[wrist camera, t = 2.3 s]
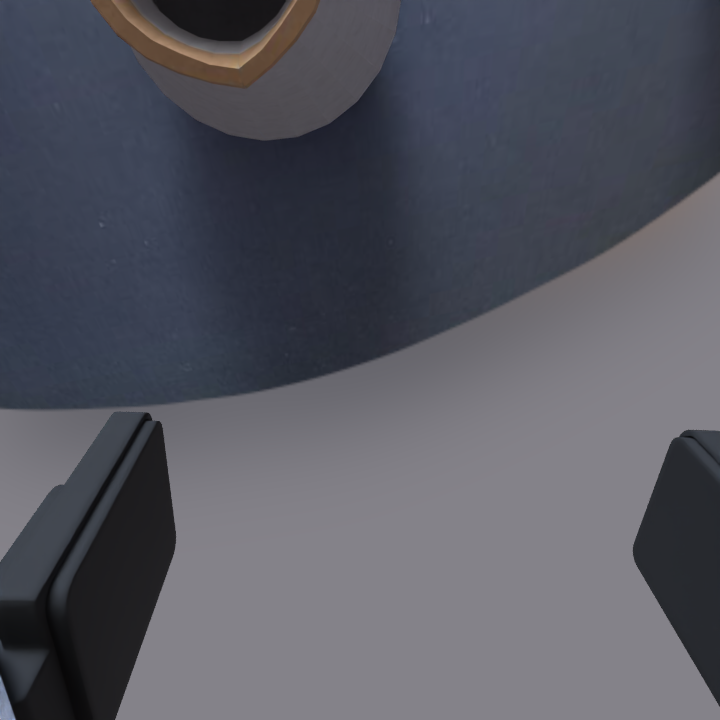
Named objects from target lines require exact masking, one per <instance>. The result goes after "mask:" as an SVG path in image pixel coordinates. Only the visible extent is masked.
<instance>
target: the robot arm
mask: <svg viewBox="0 0 720 720" xmlns="http://www.w3.org/2000/svg"><path fill="white" fill-rule="evenodd" d="M175 544H176V531H175V523H174V516H173V507H172V499H171V491H170V483H169V475H168V467H167V459H166V451H165V443H164V435H163V428H162V424H161V423H160V421H152V418H151V416H150V414H149V413H143V412H114V413H113V414H112V415H111V417H110V418H109V420H108V421H107V423H106V424H105V426H104V427H103V429H102V430H101V431H100V433H99V434H98V436H97V438H96V439H95V441H94V442H93V444H92V445H91V446H90V448H89V449H88V451H87V452H86V454H85V455H84V457H83V458H82V460H81V461H80V463H79V464H78V465H77V467H76V468H75V470H74V471H73V473H72V474H71V476H70V477H69V479H68V480H67V482H66V483H65V485H58V486H56V487H54V488H53V489H52V490H51V492H50V493H49V494H48V495H47V496H46V498H45V499H44V501H43V502H42V503H41V505H40V506H39V508H38V509H37V511H36V512H35V513H34V515H33V516H32V518H31V519H30V521H29V522H28V523H27V525H26V526H25V528H24V529H23V531H22V532H21V533H20V535H19V536H18V538H17V539H16V541H15V542H14V543H13V545H12V546H11V548H10V549H9V550H8V552H7V553H6V555H5V556H4V558H3V559H2V560H1V562H0V720H115V718H116V715H117V713H118V710H119V707H120V704H121V701H122V699H123V696H124V693H125V690H126V687H127V684H128V682H129V679H130V676H131V673H132V670H133V668H134V665H135V662H136V659H137V656H138V653H139V650H140V648H141V645H142V642H143V639H144V636H145V634H146V631H147V628H148V625H149V622H150V620H151V617H152V614H153V611H154V608H155V606H156V603H157V600H158V597H159V594H160V591H161V589H162V586H163V583H164V580H165V577H166V575H167V572H168V569H169V566H170V563H171V560H172V558H173V554H174V550H175ZM633 556H634V560H635V563H636V565H637V567H638V569H639V570H640V572H641V574H642V575H643V577H644V578H645V581H646V582H647V584H648V586H649V587H650V589H651V591H652V592H653V594H654V596H655V598H656V599H657V601H658V602H659V604H660V606H661V608H662V609H663V611H664V613H665V614H666V616H667V618H668V619H669V621H670V623H671V625H672V626H673V628H674V630H675V631H676V633H677V635H678V637H679V638H680V640H681V641H682V643H683V645H684V647H685V648H686V650H687V652H688V653H689V655H690V657H691V659H692V660H693V662H694V664H695V665H696V667H697V669H698V670H699V672H700V674H701V676H702V677H703V679H704V680H705V682H706V684H707V686H708V687H709V689H710V691H711V693H712V694H713V696H714V698H715V699H716V701H717V703H718V704H719V706H720V431H706V430H686V431H684V432H683V433H682V434H681V435H680V437H678V438H675V439H673V440H672V442H671V444H670V446H669V449H668V452H667V454H666V457H665V460H664V463H663V465H662V468H661V471H660V473H659V476H658V479H657V482H656V484H655V487H654V490H653V493H652V495H651V498H650V501H649V504H648V506H647V509H646V512H645V515H644V517H643V520H642V523H641V525H640V528H639V531H638V534H637V536H636V539H635V542H634V545H633Z"/></svg>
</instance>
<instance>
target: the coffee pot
mask: <svg viewBox="0 0 720 720" xmlns="http://www.w3.org/2000/svg"><path fill="white" fill-rule="evenodd" d="M91 2H92V4H93V5H94V7H95V8H96V9H97V10H98V12H99V13H100V14H101V15H102V17H103V18H104V19H105V20H106V22H107V23H108V24H109V25H110V27H111V28H112V29H113V30H114V32H115V33H116V34H117V35H118V36H119V37H120V38H121V39H122V40H124V41H125V42H126V43H127V44H129V45H130V46H131V48H132V50H133V52H134V54H135V56H136V58H137V60H138V62H139V64H140V65H141V66H142V67H143V69H144V70H145V71H146V72H147V74H148V75H149V76H150V77H151V79H152V80H153V81H154V82H155V84H156V85H157V86H158V87H159V89H160V90H161V91H162V92H163V94H164V95H165V96H167V97H168V98H169V99H170V100H172V101H173V102H174V103H175V104H177V105H178V106H179V107H180V108H182V109H183V110H184V111H186V112H187V113H188V114H189V115H191V116H192V117H193V118H194V119H196V120H198V121H200V122H202V123H204V124H206V125H209V126H211V127H213V128H215V129H217V130H220V131H222V132H224V133H226V134H228V135H232V136H238V137H244V138H250V139H256V140H262V141H266V140H275V139H284V138H293V137H299V136H301V135H304V134H306V133H309V132H311V131H313V130H316V129H318V128H320V127H323V126H325V125H328V124H330V123H331V122H332V121H334V120H335V119H336V118H337V117H339V116H340V115H341V114H342V113H344V112H345V111H346V110H347V109H349V108H350V107H351V106H352V105H354V104H355V103H356V102H357V101H358V100H359V99H360V97H361V96H362V95H363V93H364V92H365V91H366V89H367V88H368V87H369V85H370V84H371V82H372V81H373V80H374V78H375V77H376V76H377V74H378V73H379V72H380V70H381V67H382V65H383V63H384V60H385V58H386V55H387V53H388V50H389V48H390V46H391V43H392V41H393V38H394V36H395V33H396V28H397V22H398V15H399V9H400V3H401V0H91Z"/></svg>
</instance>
